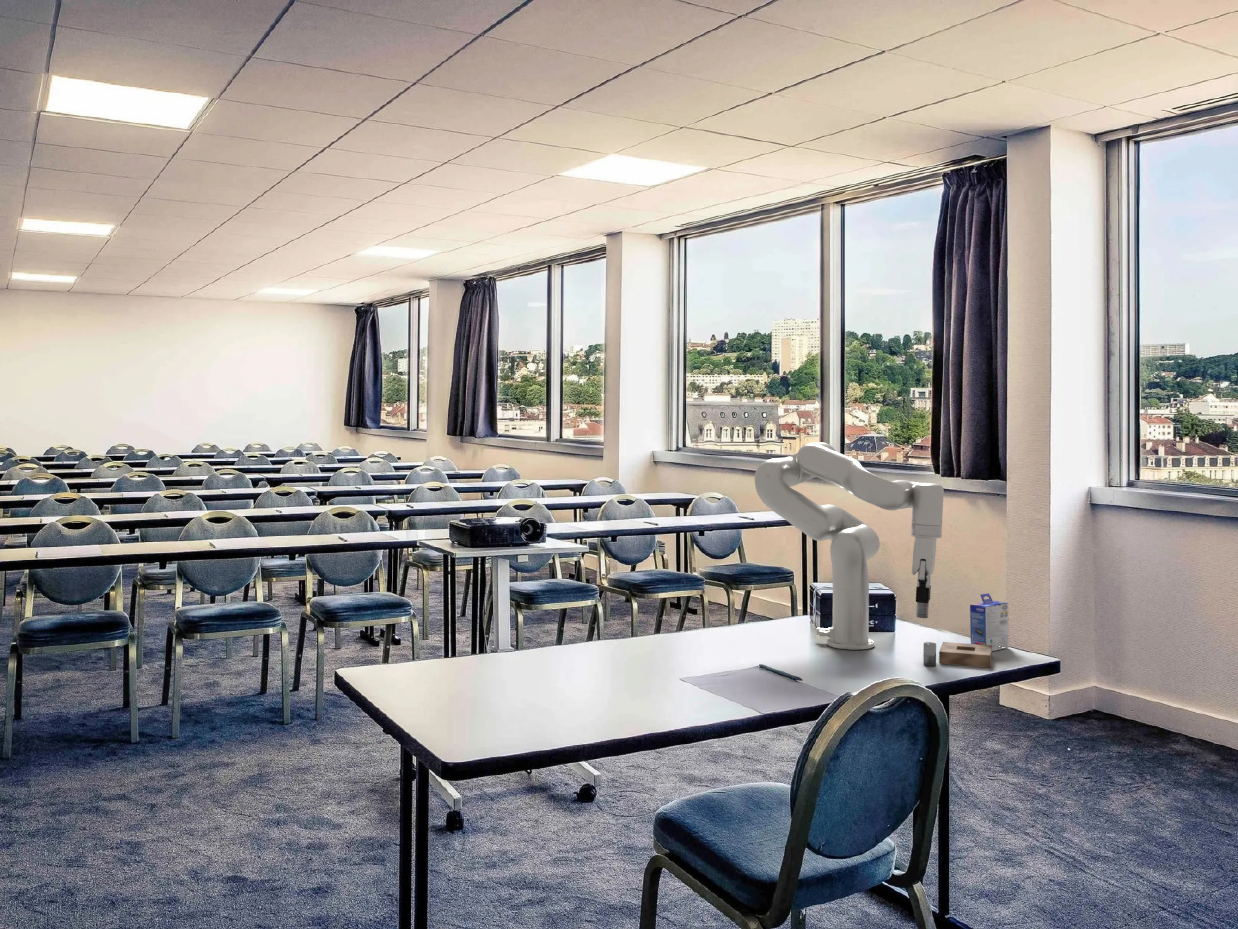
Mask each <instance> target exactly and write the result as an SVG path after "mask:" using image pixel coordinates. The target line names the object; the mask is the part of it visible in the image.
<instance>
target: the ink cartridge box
mask: <svg viewBox="0 0 1238 929" xmlns="http://www.w3.org/2000/svg"><path fill="white" fill-rule="evenodd" d="M986 597H987V598H986ZM980 598H981V600H982V602H978V603H973V604H970V605H969V611H970V612H969V618H970V619H969V621H970V626H969V627H970V644H978V645H992V652H994V651H999V650H1004V649H1008V648H1009V647H1010V646H1009V644H1010V643H1009V639H1010V638H1009V603H1008V602H1005V601H1004V602H1003V601H998V600H993V599H992V597H991V594H990V593H982V594H980ZM985 598H986V599H985ZM999 646H1000V647H999ZM1002 647H1006V648H1002Z"/></svg>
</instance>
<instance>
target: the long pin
mask: <svg viewBox="0 0 1238 929" xmlns="http://www.w3.org/2000/svg"><path fill="white" fill-rule="evenodd" d="M925 575H927V574H926V573H925ZM930 585H931V577H930V576H929V585H928V588H929V593H930V594H931V592H930ZM929 610H930V601H929V602H928V603H918V602H916V611H915V612H916V614H915V616H916V618H918V619H929Z"/></svg>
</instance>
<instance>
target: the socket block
mask: <svg viewBox="0 0 1238 929" xmlns="http://www.w3.org/2000/svg"><path fill="white" fill-rule="evenodd" d="M992 659H993V651H992V645H978V644H971V643H962V642H961V643H960V642H949V641H948V642H947V641H942V644H941V646H940V649H939V653H938V664H942V665H952V666H953V665H956V666H965V667H978V668H979V667H982V668H991V665H992Z"/></svg>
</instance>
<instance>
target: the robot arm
mask: <svg viewBox="0 0 1238 929" xmlns="http://www.w3.org/2000/svg"><path fill="white" fill-rule="evenodd" d="M815 478H818V479H820V480H821V481H825V482H827V483H830V484H831V485H835V486H836V487H838V488H841V489H843V490H845V491H846V492H847V493H849V494H851V495H853V496H854V497H856V498H858V499H859V500H862V501H864V502H867V503H869V504H871V505H873V506H875V507H877V508H880V509H882V510H885V511H897V510H903V509H911V508H912V510H911V511H912V512H911V526H910V527H911V529H910V530H911V531H910V533H911V534H910V536H911V537H914V542H913V552H912V566H911V574H912V575H913V576H915V575H916V574H917V581H916V582H917V584H916V587H915V589H916V590H915V592H916V593H915V602H916V603H917V602H918V603H928V602H929V603H930V600H931V592H932V591H931V590H932V588H931V586H932V585H931V584H930V593H929V588H928V585H929V576H930V578H931V576H932V575H933V573H934V572H935V564H936V556H937V555H936V553H937V539H941V538H942V532H943V512H944V496H945V495H944V494H945V493H944V491H945V490H944V487H943V485H942V484H939V483H933V482H915V481H910V480H906V479H899V480H889V479H887V478H883V477H882V476H879V475H876V474H874V473H872V472H870V471H868V470H866V469H865V468H864V467H863V466H862V464H861V462H860V461H859V460H858V459H856V458H853V457H850V456H849V455H845V454H843V453H840V452H839V451H837V450H836V449H835V447H833V446H832V445H831V444H829V443H826V442H808V443H805V444H804V445H803V446H801V447H800V448H799V449H798V451H797V453H795V454H792V455H789V456H786V457H777V458H770V459H766V460H764V461H763V462H761V464H759V465H758V466H757V468H756V471H755V474H754V486H755V490H756V493H757V495H758V497H759V499H760V500H761V502H763V504H765V506H766V507H768V508H769V509H770V511H772V512H774V513H775V514H777V515H778V516H779V517H781V518H782V519H784V520H785V521H786V522H788V523H789V524H791V526H793V527H795V528H796V529H797V530H799V531H800V532H802V533H803V534H805V535H806V536H807V537H809V538H810V539H812V540H814V541H817V542H818V541H820V542H821V541H828V540H830V541H831V543H830V546H829V547H830V551H829V552H830V553H829V554H830V560H831V570H832V626H831V627H828V628H824V627H817V628H816V632H815V633H816V635H817V636H819V637H828V638H827V639H826V645H827V646H829V647H832V648H834V649H841V650H848V651H849V650H855V651H856V650H857V651H859V650H860V651H861V650H867V649H872V648H874V647H875V641H874V640H873V639H871V638H869V630H870V629H869V628H870V626H869V623H870V622H869V619H870V616H869V612H870V609H869V608H870V598H869V597H870V595H869V594H870V585H869V584H870V579H869V577H870V576H869V570H868V569H869V568H868V564H867V560H870V559H871V558H873V557H875V555H877V553H878V552H879V550H880V544H881V541H880V537H879V535H878V533H877V532H876V531H875V530H874V529H873V528H872V527H870V526H869V525H868V524H866V523H865V522H863V521H862V520H860V519H859V518H858V517H856V516H854V515H853V514H852V513H850V512H848V511H847V510H845V509H844V508H843V507H840V506H837V505H834V504H823V505H822V504H818V503H816V502H814V501H813V500H811V499H810V498H809V497H807V496H805V495H804V494H803V493H801V492H799V491H797V490H795V489H793V488H792V487H794V486H798V485H799V484H802V483H805V482H807V481H810V480H812V479H815ZM925 573H926V574H927V575H925Z"/></svg>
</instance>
